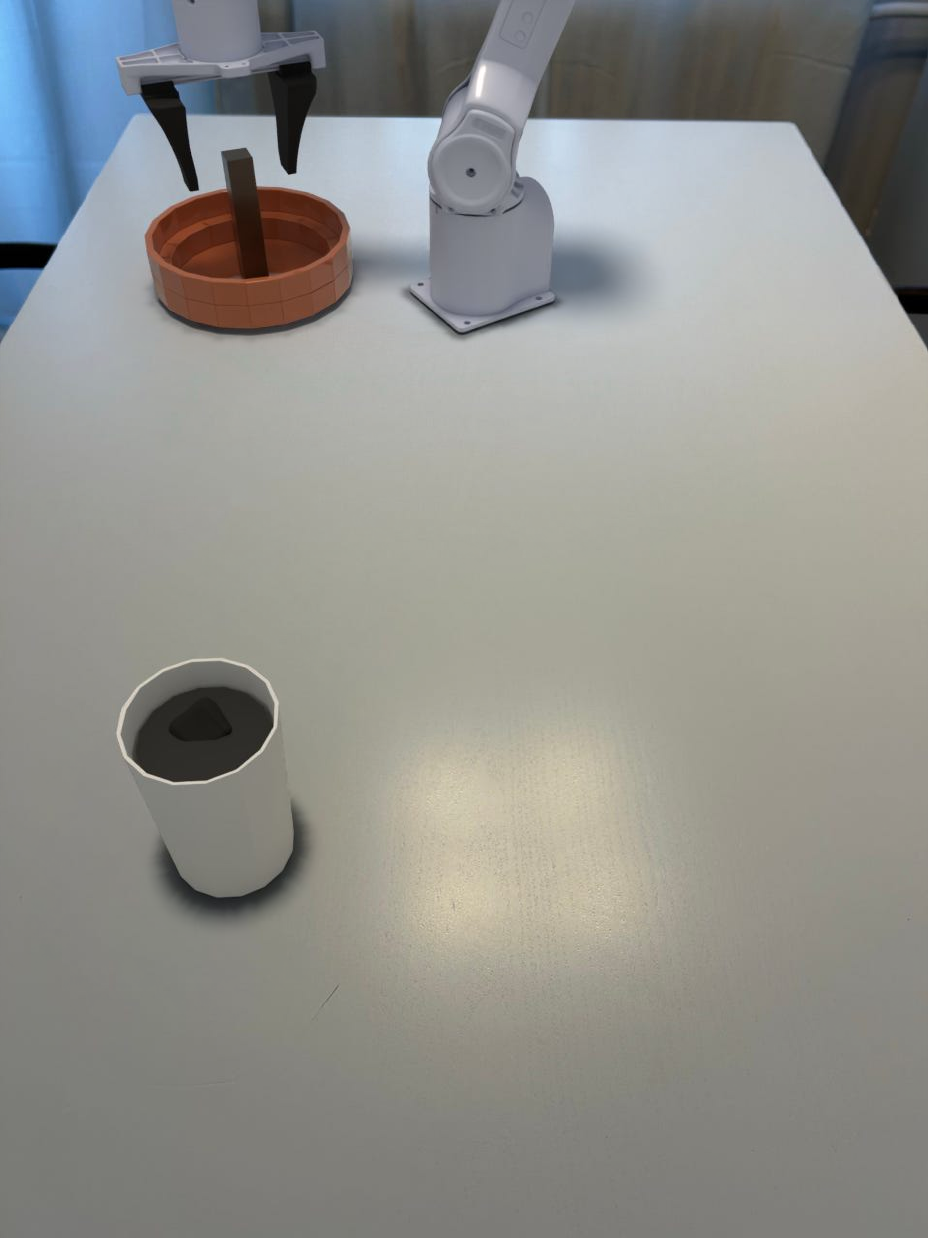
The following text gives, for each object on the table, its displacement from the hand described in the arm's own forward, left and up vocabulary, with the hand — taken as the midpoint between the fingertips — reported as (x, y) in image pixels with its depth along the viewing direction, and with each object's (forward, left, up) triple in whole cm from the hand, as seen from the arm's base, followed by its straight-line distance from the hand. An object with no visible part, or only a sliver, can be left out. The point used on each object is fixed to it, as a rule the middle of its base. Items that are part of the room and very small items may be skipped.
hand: (240, 177), depth 79 cm
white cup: (+24, +48, -9) cm, 54 cm away
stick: (0, -1, -8) cm, 8 cm away
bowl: (0, 0, -9) cm, 9 cm away
